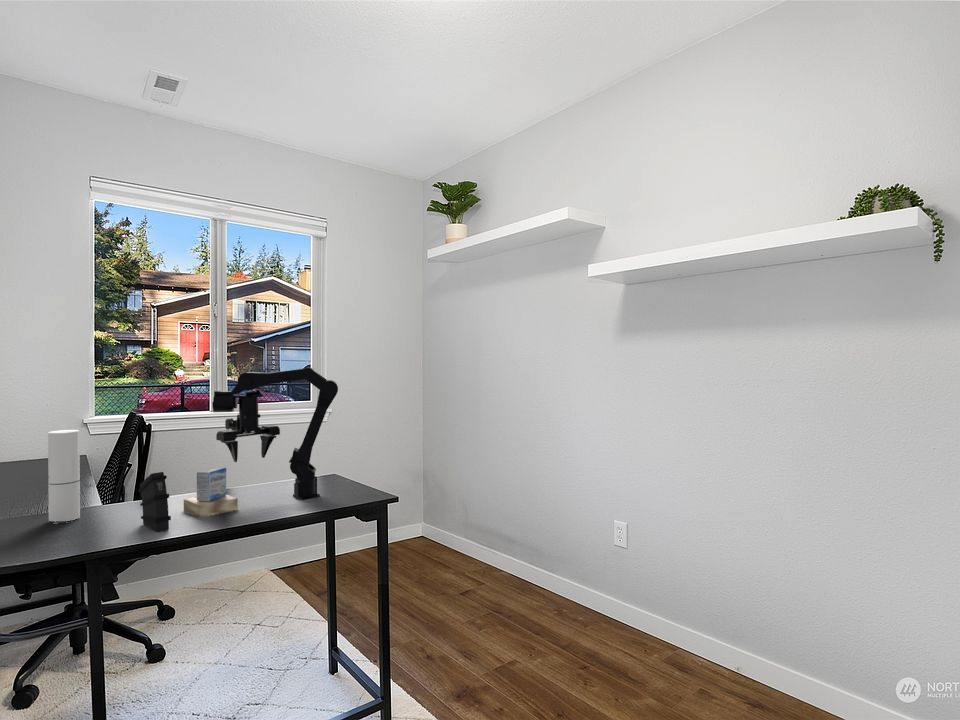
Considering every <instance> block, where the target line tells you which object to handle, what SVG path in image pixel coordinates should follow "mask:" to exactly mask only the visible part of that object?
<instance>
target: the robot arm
mask: <svg viewBox="0 0 960 720" xmlns="http://www.w3.org/2000/svg"><path fill="white" fill-rule="evenodd" d="M303 380H306V381H308V382H309V383H310V384H312V386H314V387H315V388H316V389H318V390H319V392H318V396H317V403H316V407H315V409H314V412H313V415H312V418H311V419H310V422H309V426H308V428H307V430H306V432H305V436H304V437H303V441H302V443H301V445H300V446H299V448H297V447H294V449H293V451H292V456H291V457H290V459H289V460H288V463H290V465H289V470H290V471H291V473H292V474H294V475H295V476H296V478H294V483H293V494H292V497H294V498H297V499H300V500H306V499H310V498H317V497H319V496H321V495H320V493H318V476H316V470H317V469H316V467H315V466H314V465H313V464H311V457H312V452H313V447H314V445H315V442H316V439H317V437H318V434H319V432H320V429H321V426H322V424H323V421H324V418H325V416H326V413H327V411H328V409H329V408H330V406H331V404H332V403H333V401H334V399H335V398H336V396H337V394H338V391H339V386H338V384H337V383H336V381H334V380H332V379H326V378H325V377H324V376H322V375H321V374H319V373H318V372H317V371H316V370H314V368H312V367H311V366H310V367H309V366H307V367H303V368H297V369H290V370H283V371H282V370H280V371H273V372H261V371H260V372H259V371H247V372H246V371H245V372H243V373H241V374H240V375H239V376H238V378H237V380H236V381H237V382H236V383H237V384H235V386H234V387H233V388H232V390H227V391H226V390H223V391H222V390H215V391H214V392H213V394H214V395H213V398H212V399H213V400H212V402H211V403H212V406H211V407H212V411H213V413H232V412H234V411H235V409H238V414H237V415H236V419H234V418H226V419H225V423H224V425H225V430H218V431H217V432H216V436H215V437H216V441H220V442H221V443H223V444H224V445H226V447H227V448H228V450H229V452H230V455H231V457H232V460H233V463H238V454H239V453H238V452H239V451H238V450H239V448H238V447H239V441H238V440H237V438H242V437H243V438H244V437H250V436H259V437H260V440H261V451H260V452H261V459H264V458H265V457H266V454H267V453H268V450H269V448H270V446H271V445H272V443H273V441H274V439H276V438H277V436H279V435H281V428H280V426H278V425H274V424H273V425H271V424H269V425H261V426H259V418H261V414H260V413H259V398H263V397H265V393H264V392H262V391H261V389H259V388H261V387H265V386H268V385H272V384H280V383H287V382H295V381H296V382H297V381H303ZM255 389H257V390H256V391H251V390H255ZM245 391H246V393H245V394H243V395H241V394H242V393H243V392H245ZM239 394H240V395H239Z"/></svg>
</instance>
